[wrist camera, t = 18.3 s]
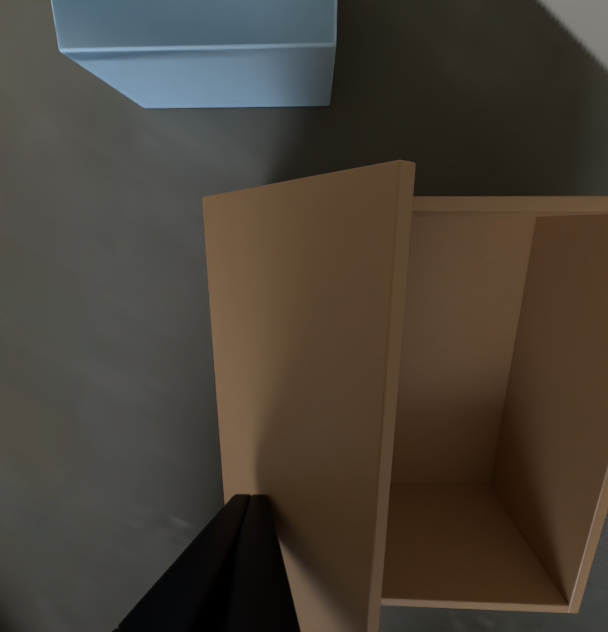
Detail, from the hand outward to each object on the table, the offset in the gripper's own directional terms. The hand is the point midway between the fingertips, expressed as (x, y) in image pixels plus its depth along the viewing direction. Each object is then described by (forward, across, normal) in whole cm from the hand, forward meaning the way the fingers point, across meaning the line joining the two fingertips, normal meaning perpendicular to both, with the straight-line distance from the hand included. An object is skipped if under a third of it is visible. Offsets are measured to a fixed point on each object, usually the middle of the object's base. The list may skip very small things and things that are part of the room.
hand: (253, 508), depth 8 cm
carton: (+9, -5, 0) cm, 11 cm away
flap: (0, -1, 0) cm, 1 cm away
